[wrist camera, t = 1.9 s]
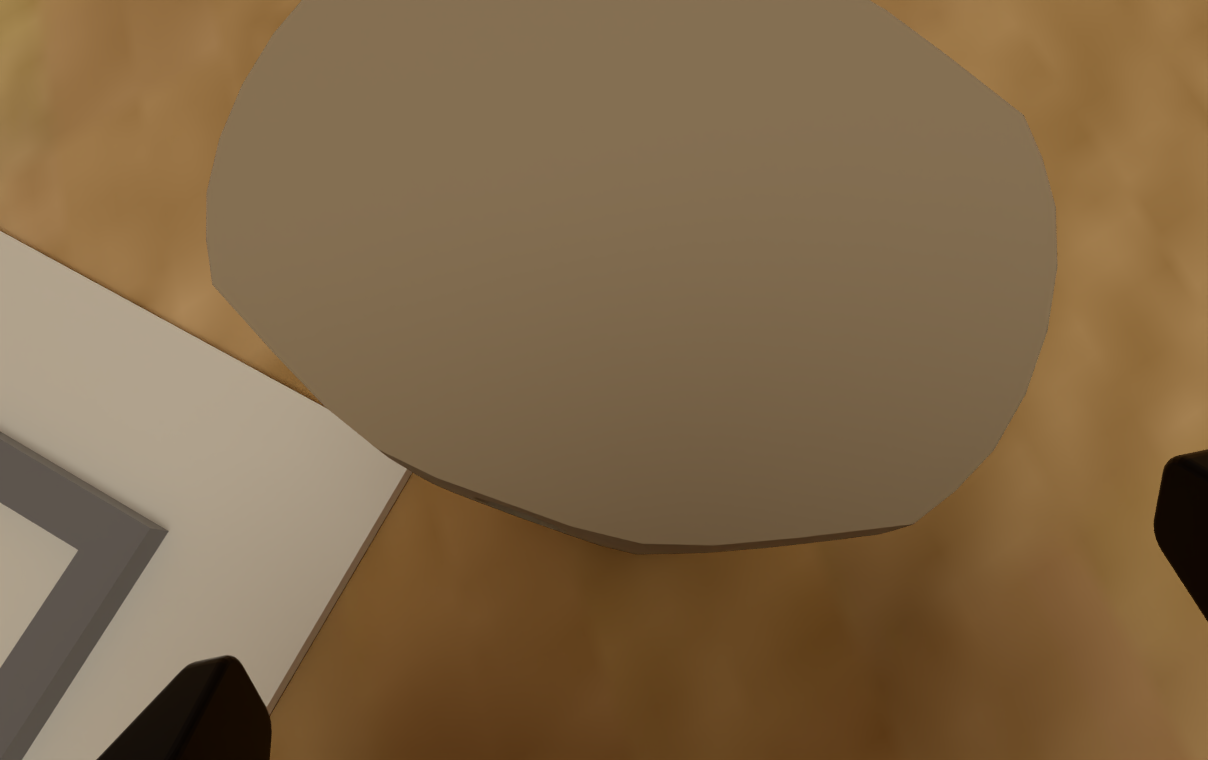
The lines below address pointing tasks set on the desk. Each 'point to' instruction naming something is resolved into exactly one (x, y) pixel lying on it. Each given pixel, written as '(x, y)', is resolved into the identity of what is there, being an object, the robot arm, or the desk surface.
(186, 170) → the desk surface
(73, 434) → the socket plate
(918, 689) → the desk surface
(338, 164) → the handle
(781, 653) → the desk surface
